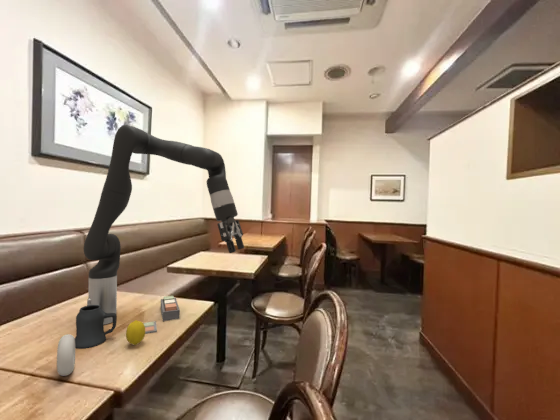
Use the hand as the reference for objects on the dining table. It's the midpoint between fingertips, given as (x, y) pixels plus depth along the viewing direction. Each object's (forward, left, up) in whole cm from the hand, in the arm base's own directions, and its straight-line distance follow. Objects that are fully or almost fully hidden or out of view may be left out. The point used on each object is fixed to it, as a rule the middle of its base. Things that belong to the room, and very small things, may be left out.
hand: (237, 250), depth 97 cm
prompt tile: (-27, +19, -30) cm, 44 cm away
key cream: (-19, +33, -27) cm, 47 cm away
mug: (-43, +15, -30) cm, 54 cm away
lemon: (-31, +7, -30) cm, 44 cm away
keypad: (-19, +33, -30) cm, 48 cm away
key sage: (-19, +38, -27) cm, 51 cm away
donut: (-47, -3, -30) cm, 56 cm away
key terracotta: (-19, +27, -27) cm, 43 cm away
